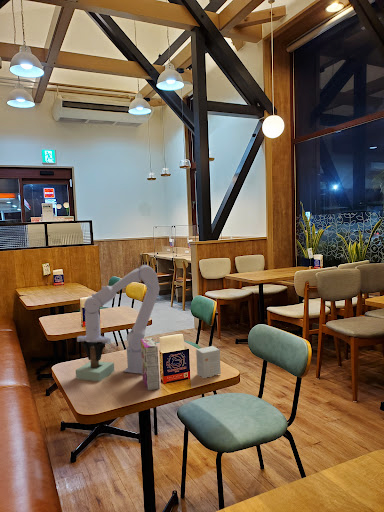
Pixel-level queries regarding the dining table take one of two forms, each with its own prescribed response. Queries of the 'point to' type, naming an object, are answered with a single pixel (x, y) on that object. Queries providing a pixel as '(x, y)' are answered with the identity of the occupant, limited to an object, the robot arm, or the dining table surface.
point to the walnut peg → (93, 358)
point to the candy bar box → (150, 363)
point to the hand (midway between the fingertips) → (94, 359)
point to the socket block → (95, 371)
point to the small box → (208, 361)
